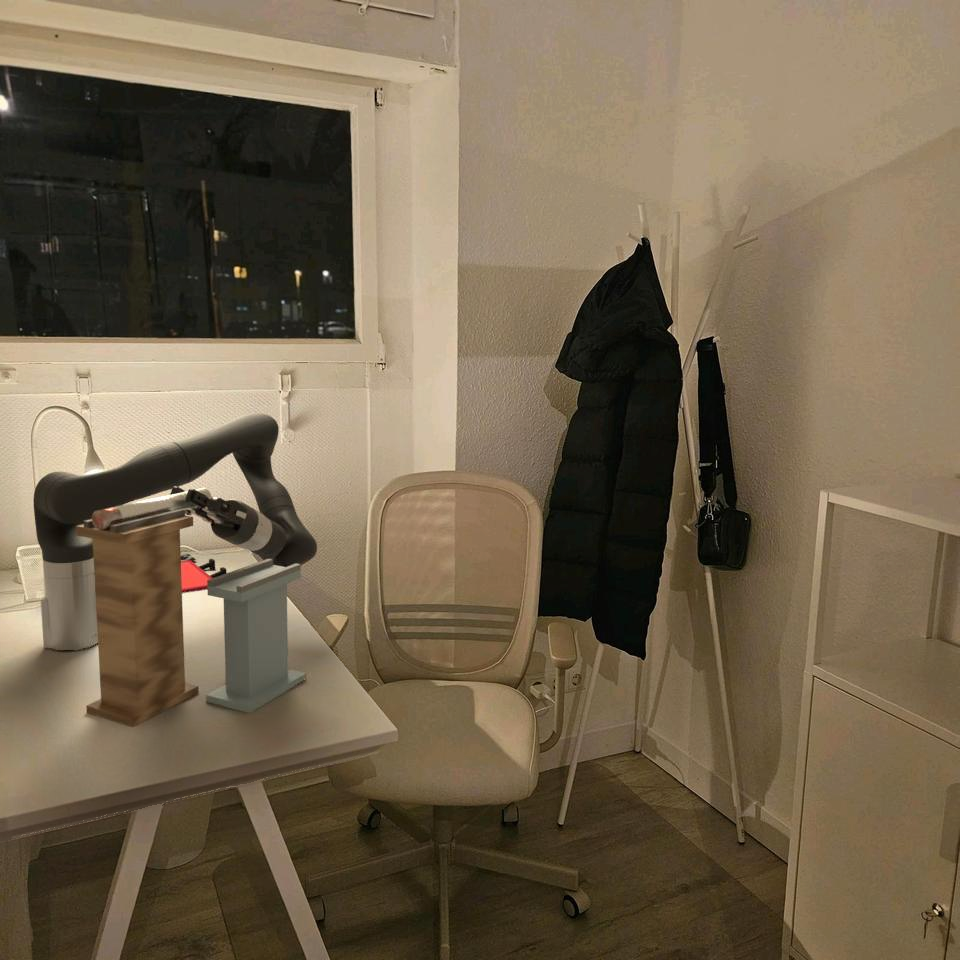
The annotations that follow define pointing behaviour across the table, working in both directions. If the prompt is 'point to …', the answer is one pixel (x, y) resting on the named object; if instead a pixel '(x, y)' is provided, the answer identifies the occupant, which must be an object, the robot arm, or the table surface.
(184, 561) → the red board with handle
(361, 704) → the table surface
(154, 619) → the stand
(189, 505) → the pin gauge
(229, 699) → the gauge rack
